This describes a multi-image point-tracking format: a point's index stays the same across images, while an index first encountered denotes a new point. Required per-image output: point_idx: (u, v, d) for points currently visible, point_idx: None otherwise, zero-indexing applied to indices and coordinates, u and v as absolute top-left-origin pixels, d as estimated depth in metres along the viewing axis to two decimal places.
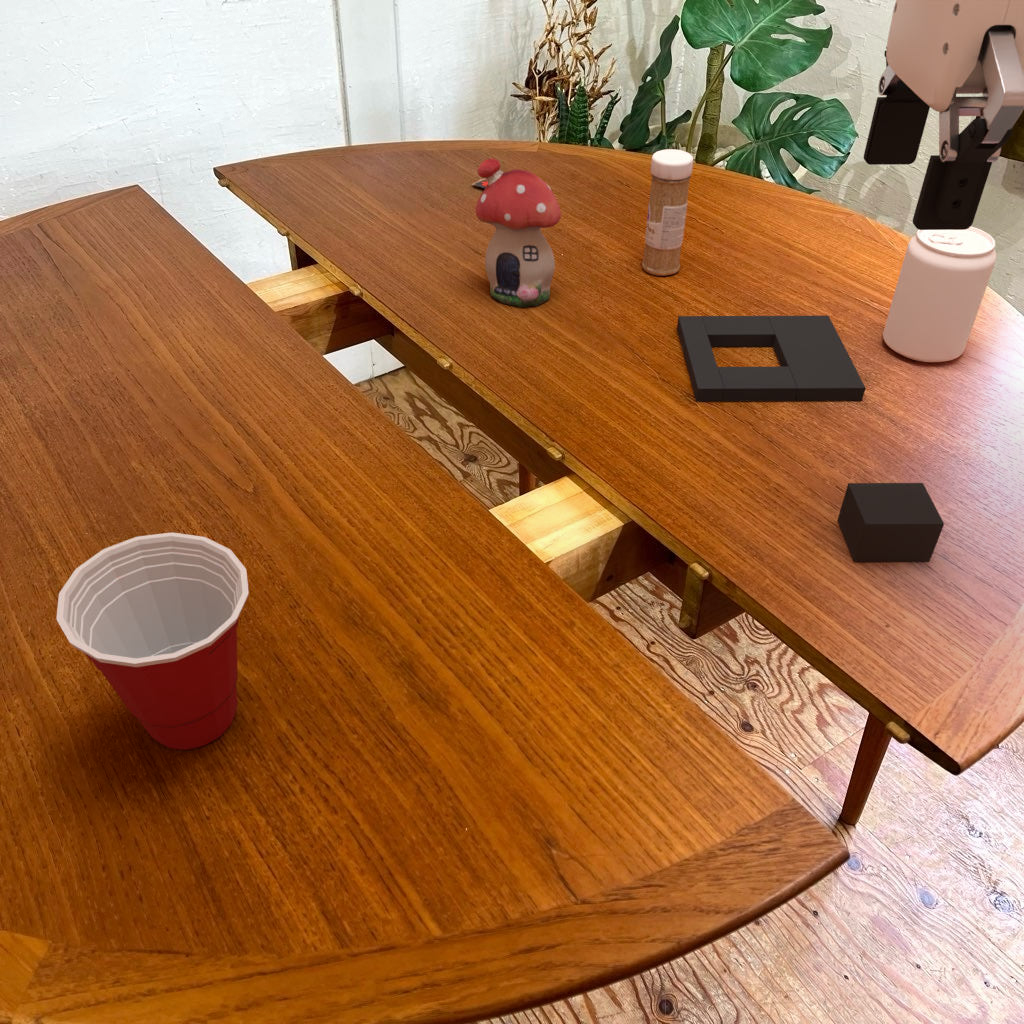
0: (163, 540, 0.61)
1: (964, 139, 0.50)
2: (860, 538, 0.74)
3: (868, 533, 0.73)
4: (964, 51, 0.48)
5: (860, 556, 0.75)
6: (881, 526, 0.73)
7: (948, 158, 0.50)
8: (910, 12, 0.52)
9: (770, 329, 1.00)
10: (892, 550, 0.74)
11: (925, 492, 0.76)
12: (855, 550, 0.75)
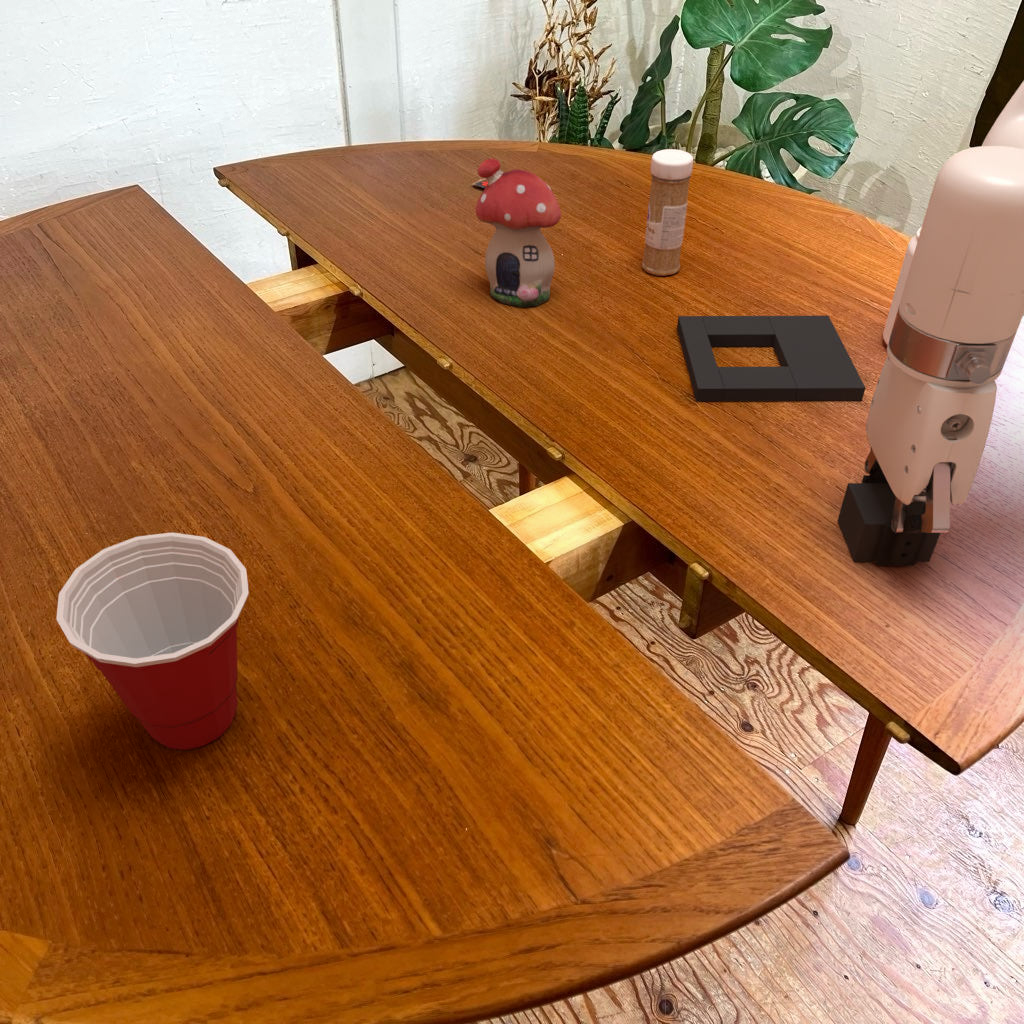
0: (163, 540, 0.61)
1: (907, 522, 0.70)
2: (860, 538, 0.74)
3: (868, 533, 0.73)
4: (919, 475, 0.67)
5: (860, 556, 0.75)
6: (881, 526, 0.73)
7: (897, 532, 0.71)
8: (882, 421, 0.71)
9: (770, 329, 1.00)
10: None
11: None
12: (855, 550, 0.75)
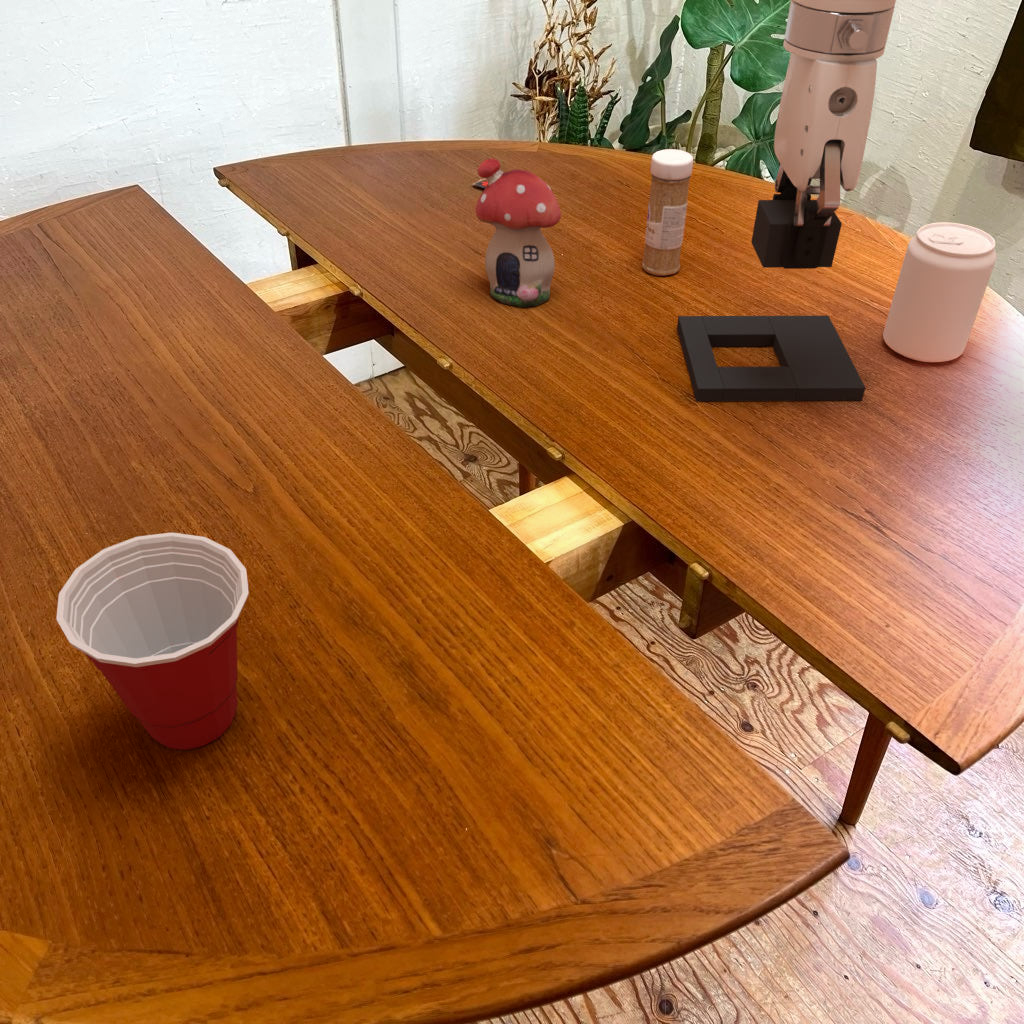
0: (163, 540, 0.61)
1: (806, 213, 0.78)
2: (767, 240, 0.81)
3: (773, 234, 0.81)
4: (812, 155, 0.74)
5: (768, 261, 0.82)
6: (785, 226, 0.80)
7: (798, 224, 0.79)
8: (784, 123, 0.78)
9: (770, 329, 1.00)
10: None
11: None
12: (764, 255, 0.82)
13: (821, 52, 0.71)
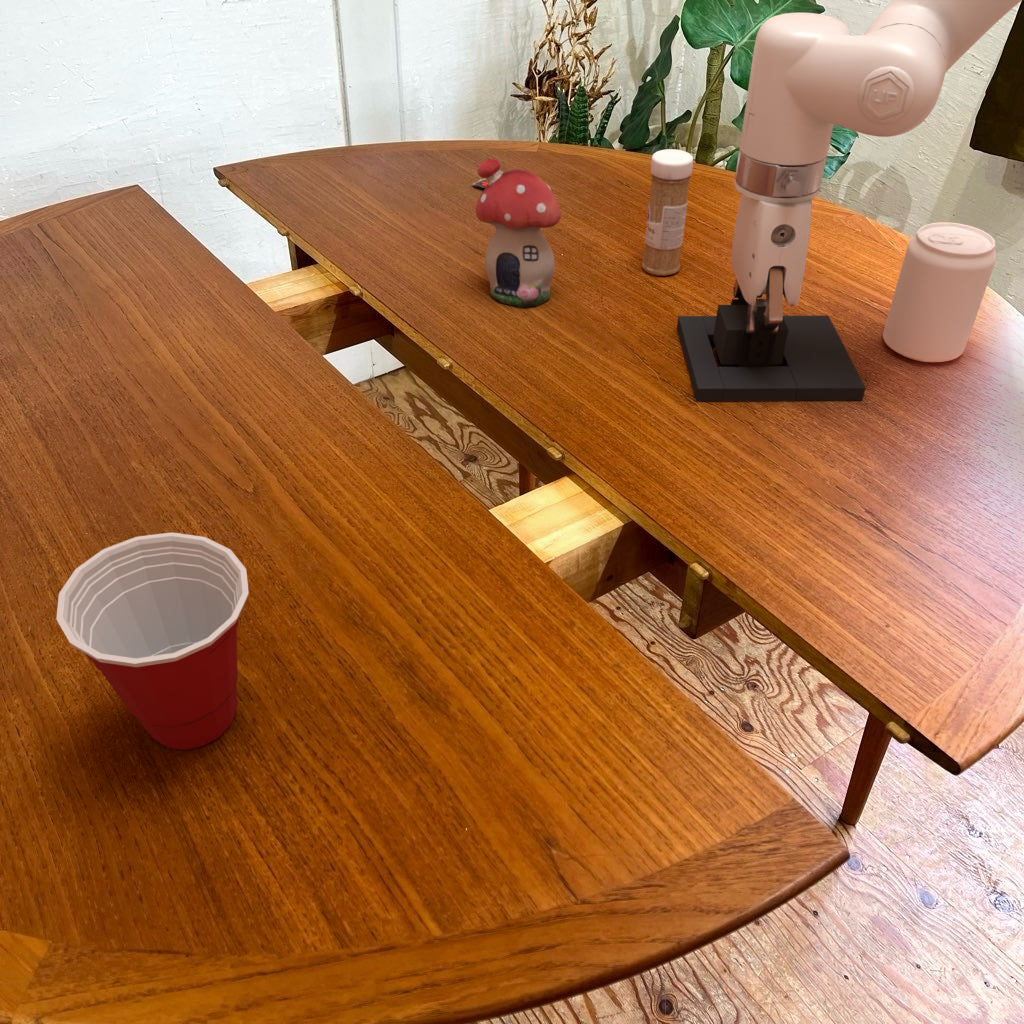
0: (163, 540, 0.61)
1: (756, 323, 0.90)
2: (724, 343, 0.93)
3: (729, 338, 0.93)
4: (759, 278, 0.86)
5: (725, 359, 0.95)
6: (739, 331, 0.93)
7: (749, 332, 0.91)
8: (737, 245, 0.91)
9: None
10: None
11: None
12: (721, 355, 0.95)
13: (764, 195, 0.83)
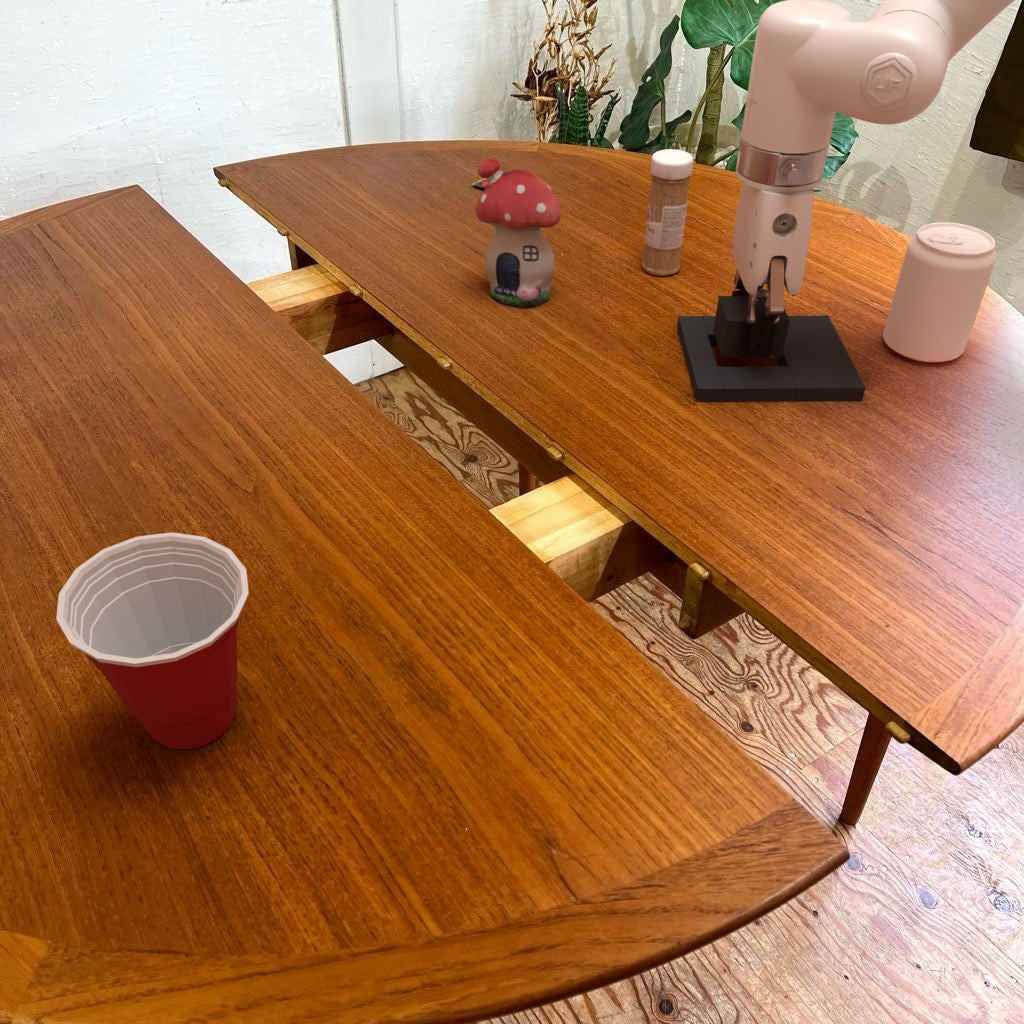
0: (163, 540, 0.61)
1: (757, 313, 0.89)
2: (724, 334, 0.93)
3: (730, 329, 0.92)
4: (760, 268, 0.86)
5: (726, 351, 0.94)
6: (740, 322, 0.92)
7: (750, 323, 0.90)
8: (738, 235, 0.90)
9: None
10: None
11: None
12: (722, 346, 0.94)
13: (765, 184, 0.82)
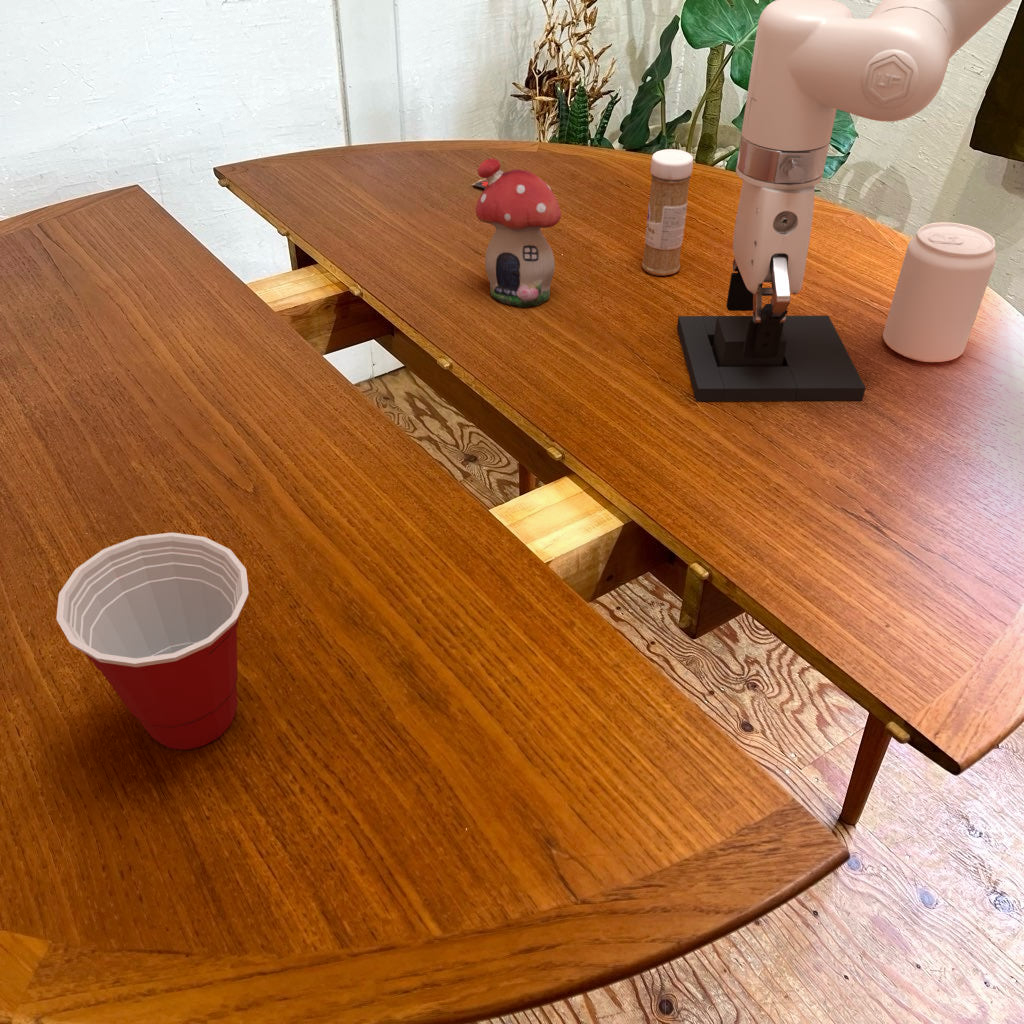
0: (163, 540, 0.61)
1: (763, 312, 0.87)
2: (723, 354, 0.94)
3: (728, 349, 0.94)
4: (761, 265, 0.85)
5: None
6: (738, 343, 0.93)
7: (756, 322, 0.88)
8: (739, 233, 0.90)
9: None
10: (749, 365, 0.95)
11: None
12: (720, 366, 0.95)
13: (766, 181, 0.82)
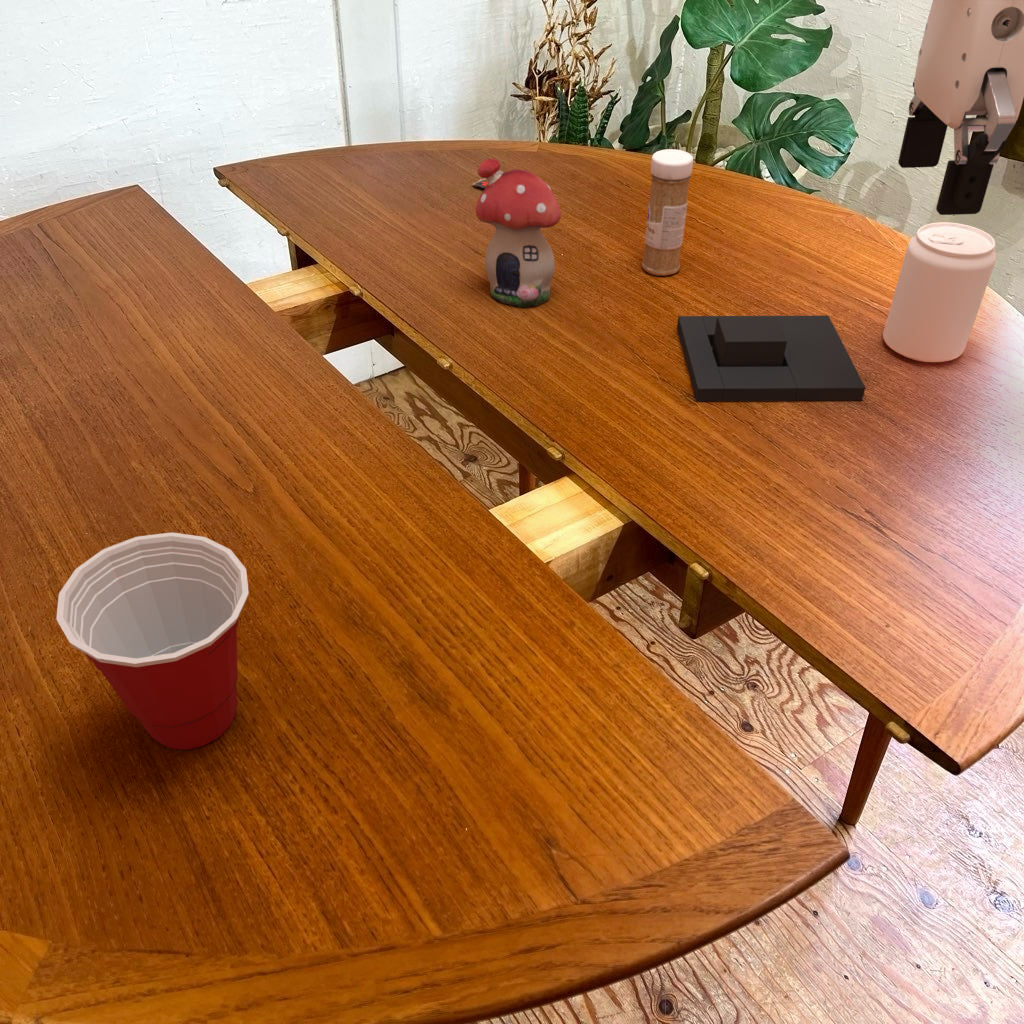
0: (163, 540, 0.61)
1: (972, 148, 0.69)
2: (723, 354, 0.94)
3: (728, 349, 0.94)
4: (970, 86, 0.68)
5: None
6: (738, 343, 0.93)
7: (961, 162, 0.70)
8: (931, 57, 0.72)
9: None
10: (749, 365, 0.95)
11: (776, 321, 0.96)
12: (720, 366, 0.95)
13: None
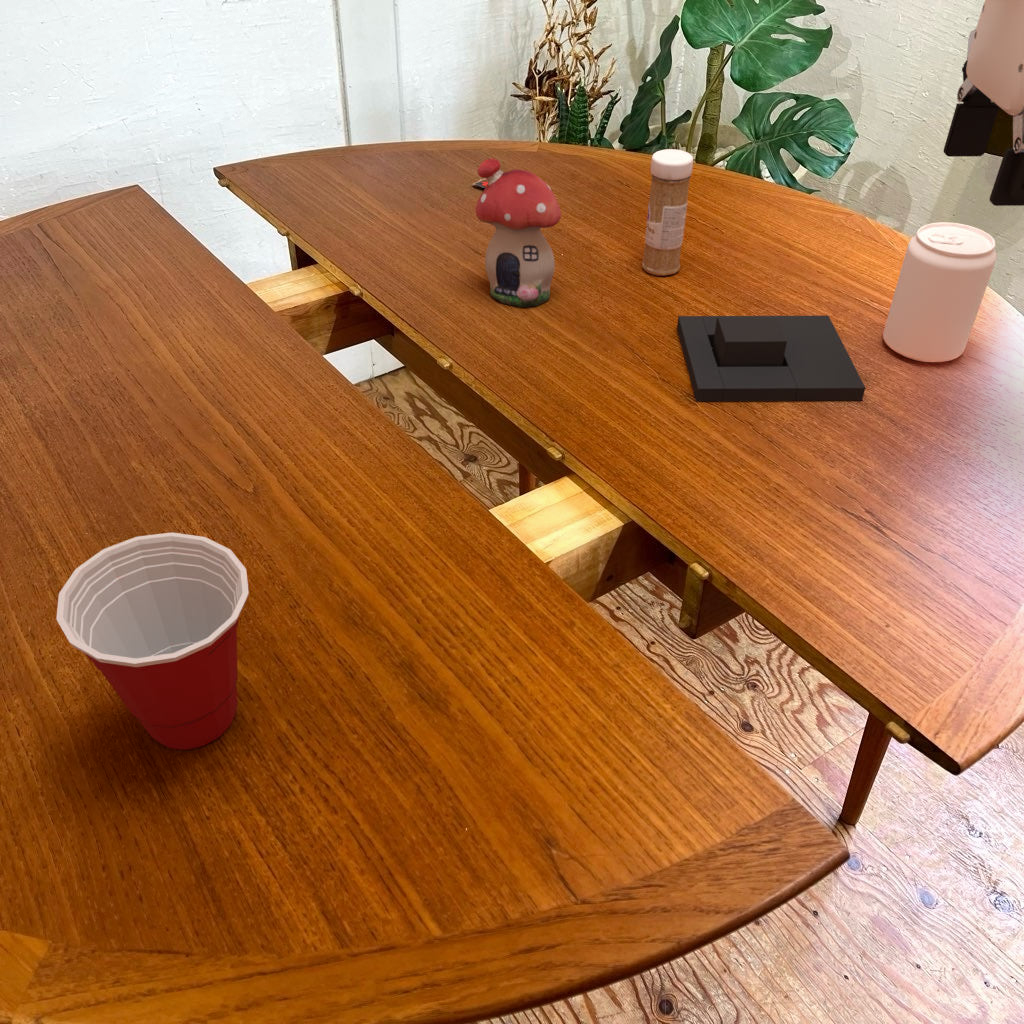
0: (163, 540, 0.61)
1: None
2: (723, 354, 0.94)
3: (728, 349, 0.94)
4: None
5: None
6: (738, 343, 0.93)
7: (1020, 150, 0.67)
8: (989, 39, 0.69)
9: None
10: (749, 365, 0.95)
11: (776, 322, 0.96)
12: (720, 366, 0.95)
13: None
